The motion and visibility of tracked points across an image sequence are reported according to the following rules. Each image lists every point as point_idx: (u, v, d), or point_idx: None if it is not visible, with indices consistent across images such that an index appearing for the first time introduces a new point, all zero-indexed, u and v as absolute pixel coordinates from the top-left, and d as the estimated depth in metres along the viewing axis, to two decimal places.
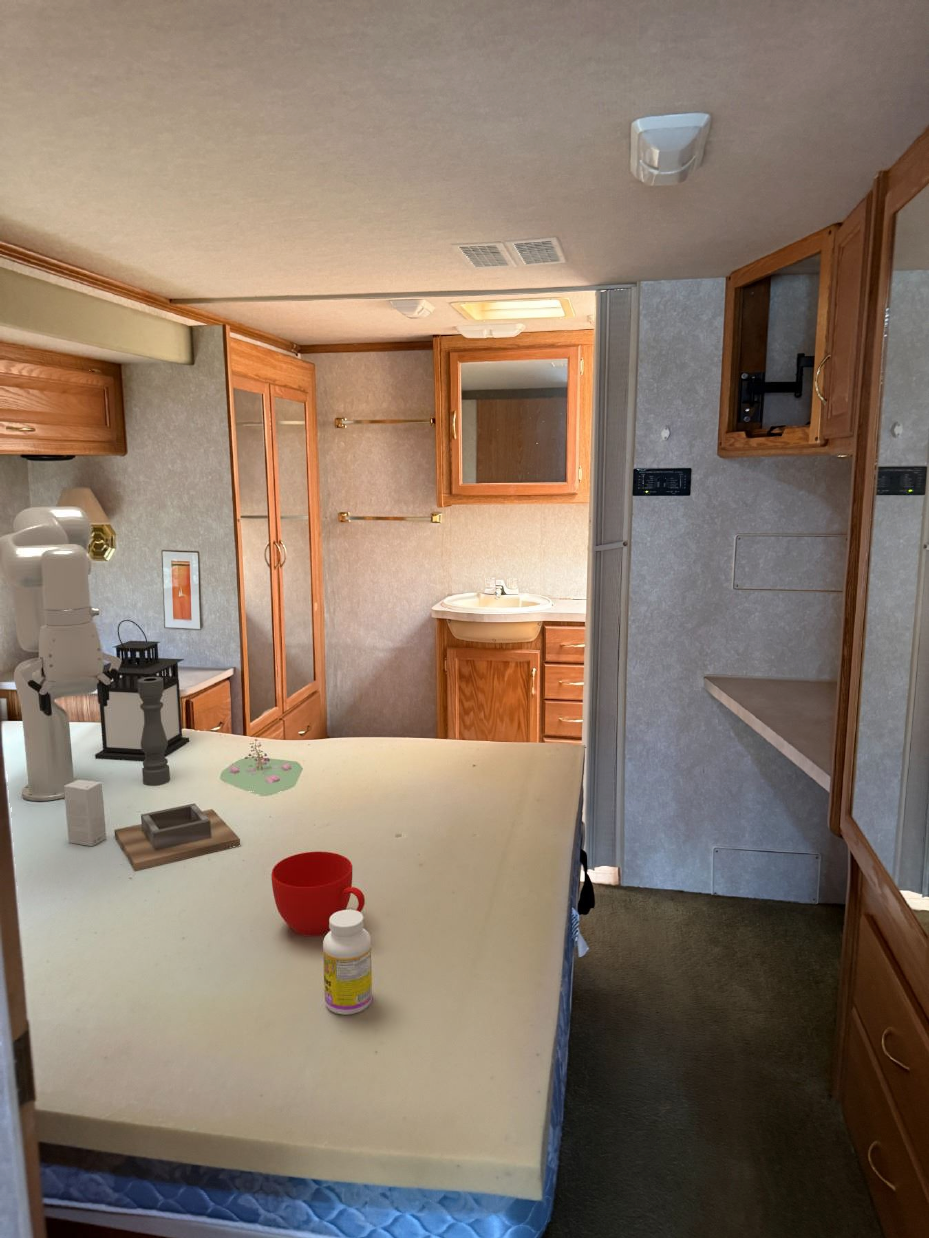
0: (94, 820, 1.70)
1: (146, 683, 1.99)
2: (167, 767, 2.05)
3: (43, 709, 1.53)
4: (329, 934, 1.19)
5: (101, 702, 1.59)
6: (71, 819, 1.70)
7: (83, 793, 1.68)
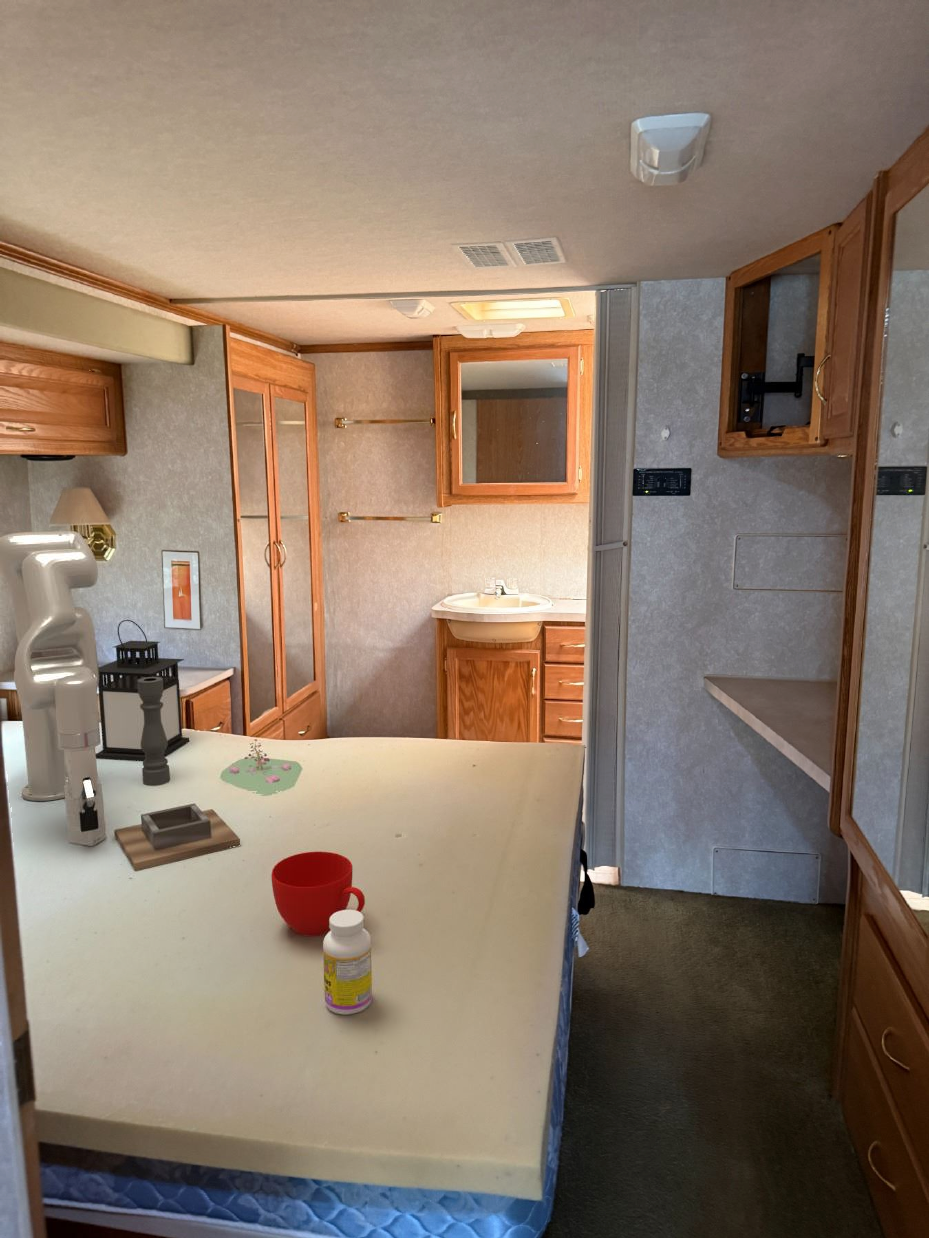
0: None
1: (146, 683, 1.99)
2: (167, 767, 2.05)
3: (93, 824, 1.68)
4: (329, 934, 1.19)
5: None
6: (71, 819, 1.70)
7: None
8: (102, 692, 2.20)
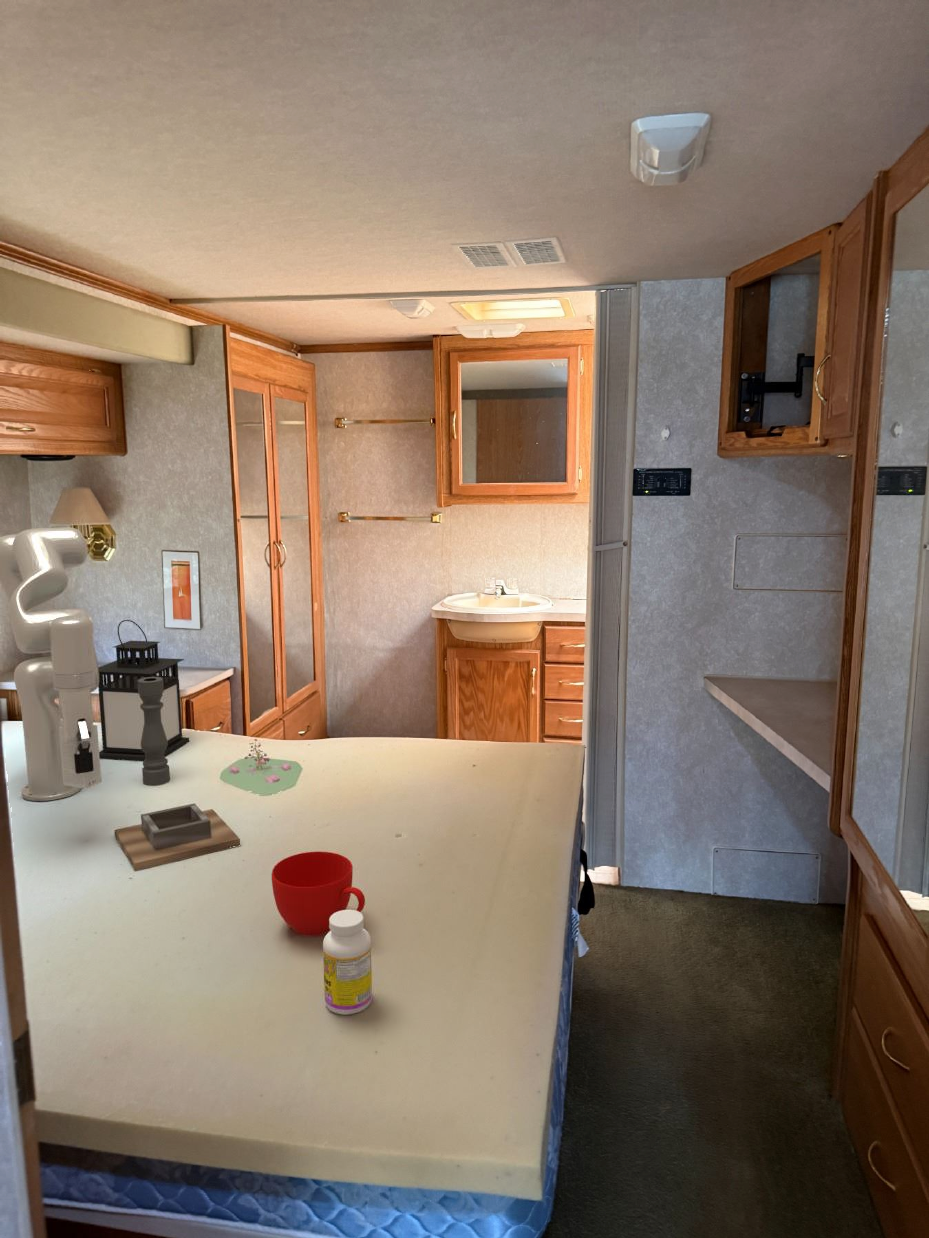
0: None
1: (146, 683, 1.99)
2: (167, 767, 2.05)
3: (88, 766, 1.67)
4: (329, 934, 1.19)
5: None
6: (65, 761, 1.69)
7: (78, 735, 1.67)
8: (102, 692, 2.20)
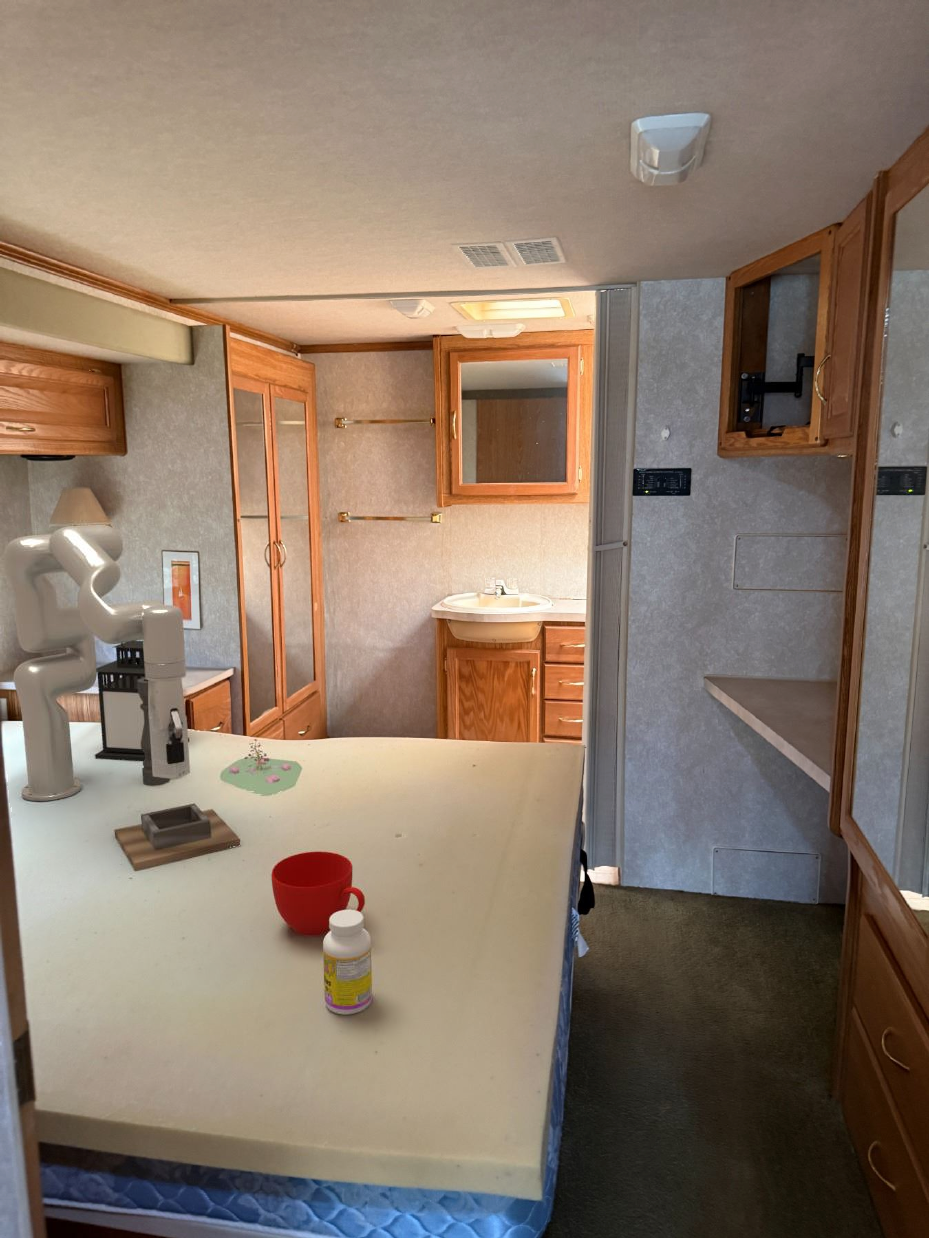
0: None
1: (146, 683, 1.99)
2: None
3: None
4: (329, 934, 1.19)
5: None
6: (155, 752, 1.68)
7: None
8: (102, 692, 2.20)
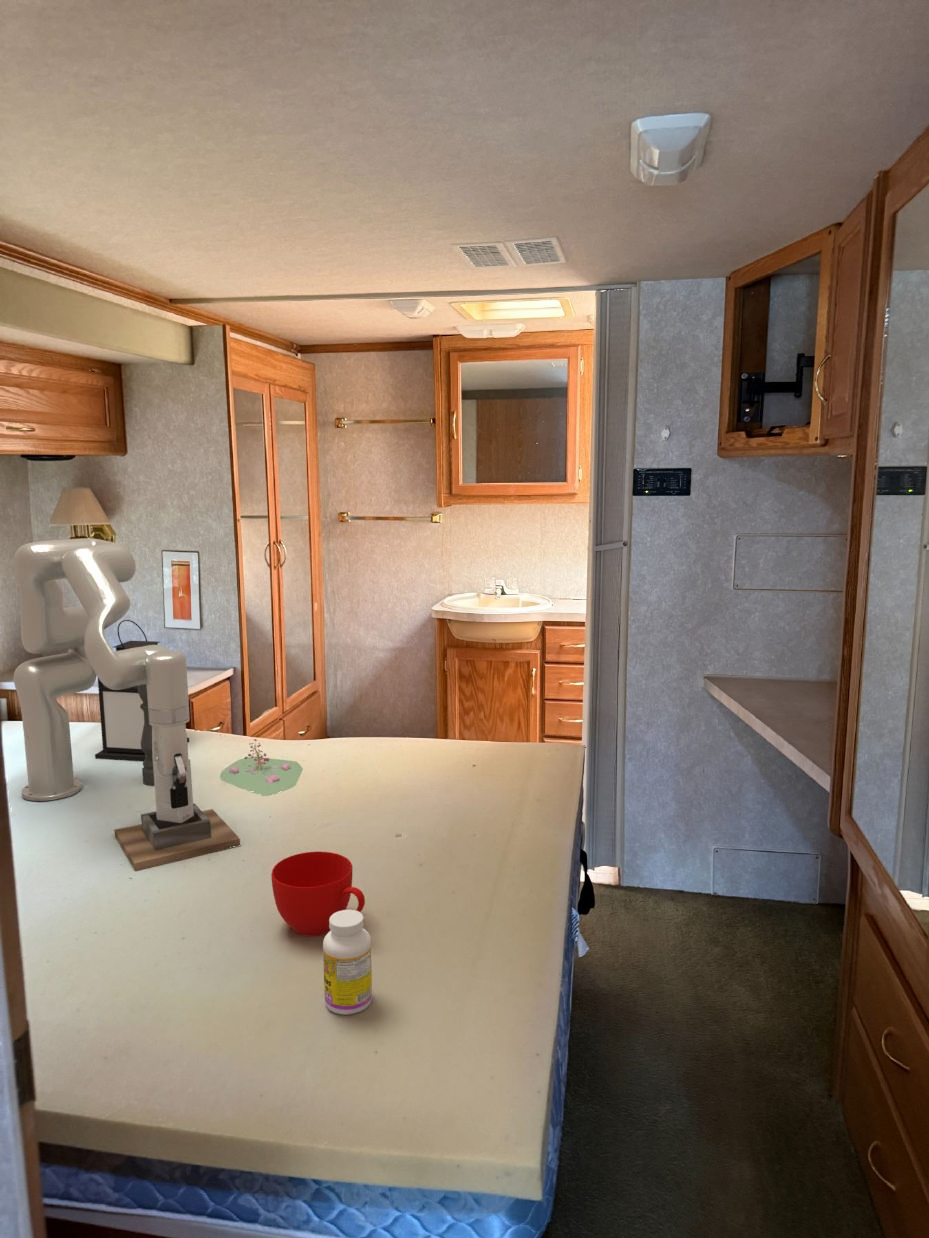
0: None
1: None
2: None
3: (184, 801, 1.67)
4: (329, 934, 1.19)
5: None
6: (159, 796, 1.69)
7: (173, 770, 1.67)
8: (102, 692, 2.20)
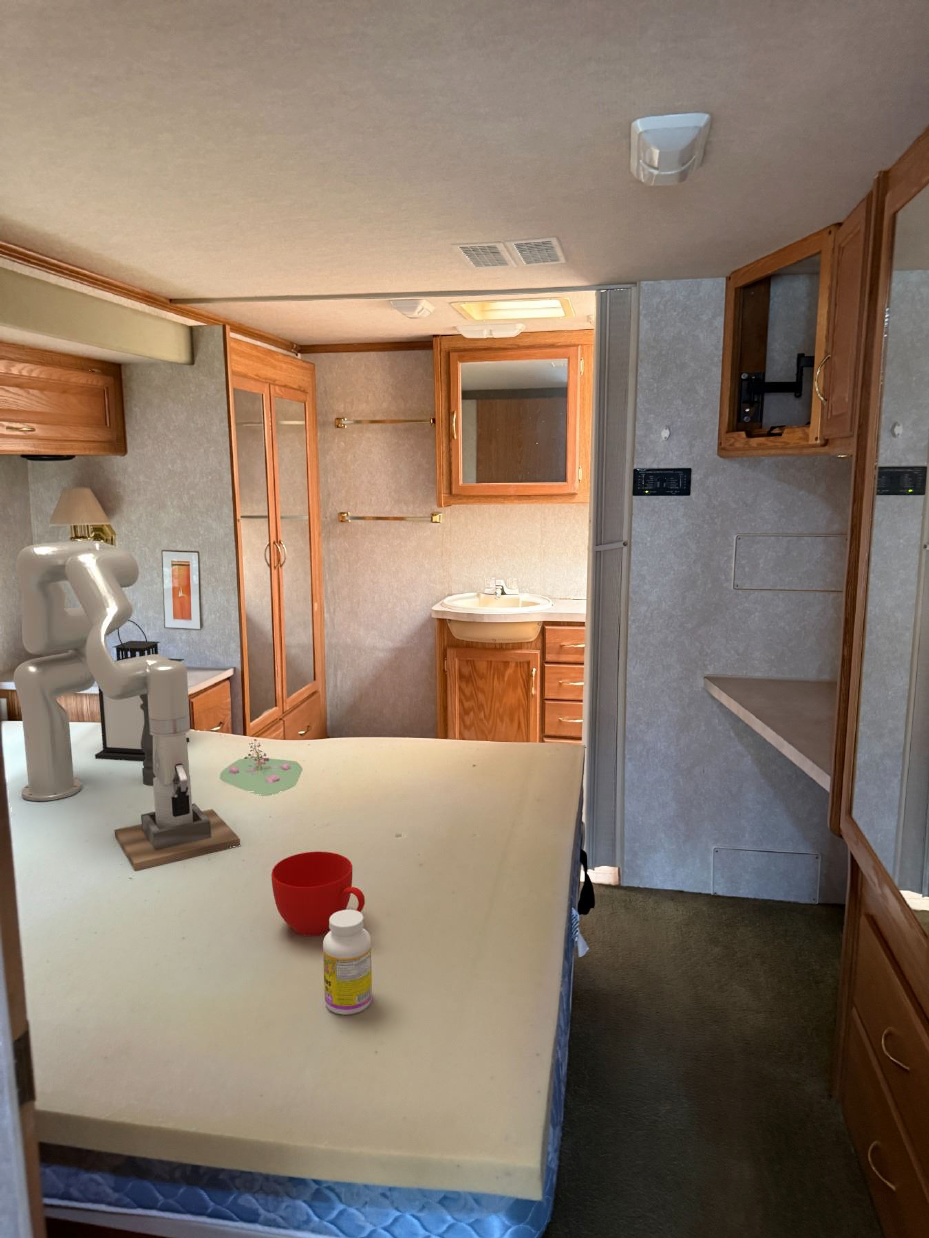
0: None
1: None
2: None
3: (185, 809, 1.67)
4: (329, 934, 1.19)
5: None
6: (159, 811, 1.70)
7: None
8: (102, 692, 2.20)
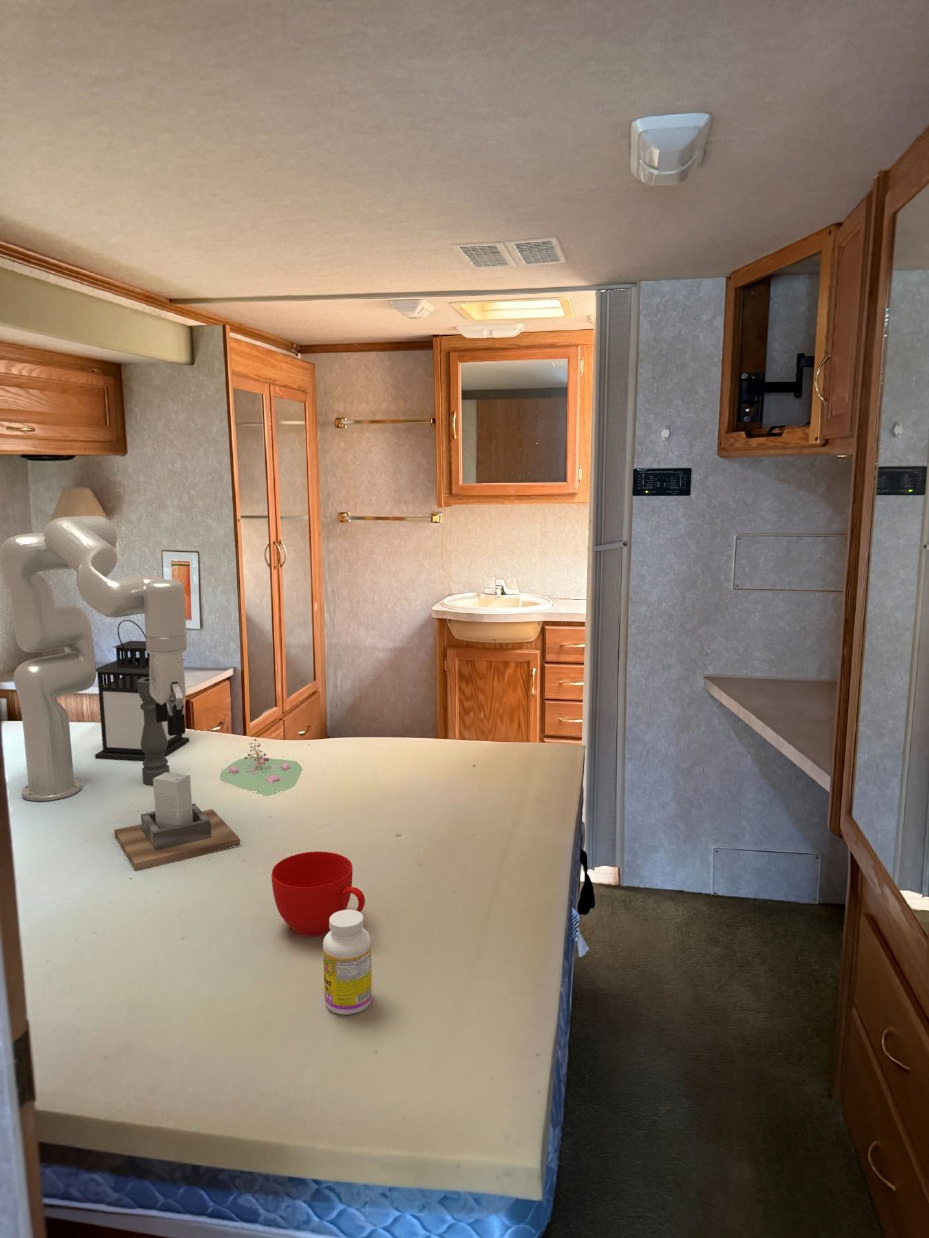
0: (183, 812, 1.70)
1: (146, 683, 1.99)
2: (167, 767, 2.05)
3: None
4: (329, 934, 1.19)
5: None
6: (159, 811, 1.70)
7: (173, 786, 1.68)
8: (102, 692, 2.20)
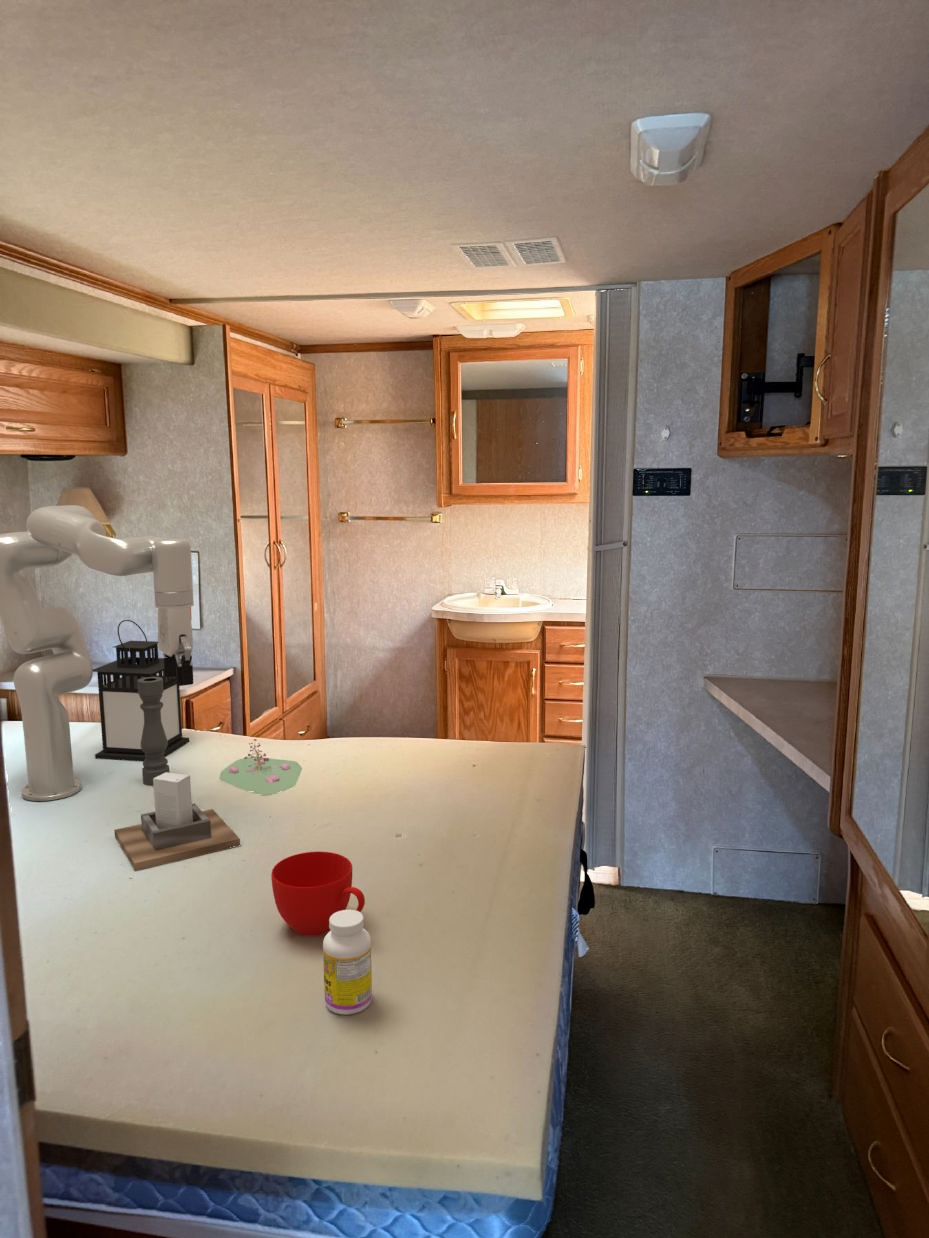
0: (183, 812, 1.70)
1: (146, 683, 1.99)
2: (167, 767, 2.05)
3: (189, 679, 1.75)
4: (329, 934, 1.19)
5: (175, 672, 1.83)
6: (159, 811, 1.70)
7: (173, 786, 1.68)
8: (102, 692, 2.20)
